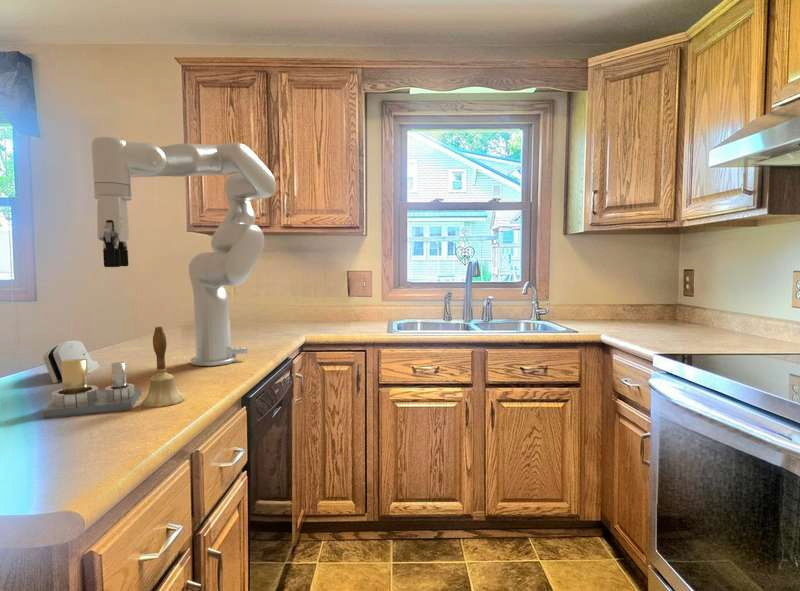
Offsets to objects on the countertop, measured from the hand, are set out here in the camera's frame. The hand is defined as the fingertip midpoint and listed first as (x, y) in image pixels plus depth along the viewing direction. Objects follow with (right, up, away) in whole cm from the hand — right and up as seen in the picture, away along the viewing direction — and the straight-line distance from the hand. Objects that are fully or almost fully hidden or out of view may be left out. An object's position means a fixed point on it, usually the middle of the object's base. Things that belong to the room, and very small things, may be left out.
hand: (116, 266), depth 118 cm
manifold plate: (+4, -30, -14) cm, 33 cm away
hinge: (-19, -28, +13) cm, 36 cm away
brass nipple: (0, -28, -16) cm, 32 cm away
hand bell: (+17, -30, -12) cm, 36 cm away
